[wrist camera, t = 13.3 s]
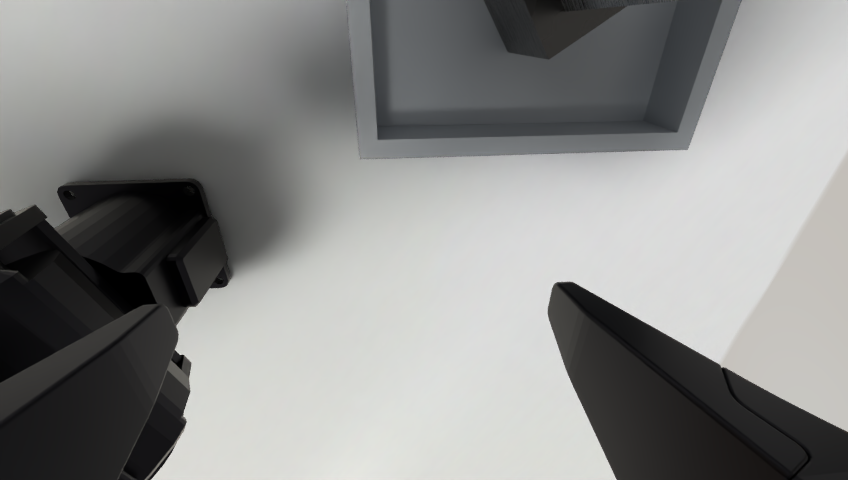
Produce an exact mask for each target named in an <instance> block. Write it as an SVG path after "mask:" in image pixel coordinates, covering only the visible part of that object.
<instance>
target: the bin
mask: <svg viewBox="0 0 848 480" xmlns="http://www.w3.org/2000/svg"><path fill="white" fill-rule="evenodd" d="M741 1H742V0H682V1H672V2H662V3H651V4H641V5H630V6H627V7H625V8H624V9H622V10H621V11H620V12H618V13H617V14H615V15H614V16H612V17H611V18H609V19H608V20H606V21H605V22H603V23H602V24H600V25H599V26H598V27H596V28H595V29H593V30H592V31H590V32H589V33H587V34H586V35H584V36H583V37H581V38H580V39H579V40H577V41H576V42H574V43H573V44H571V45H570V46H568V47H567V48H565V49H564V50H562V51H561V52H559V53H558V54H557V55H555V56H554V57H552V58H551V59H549V60H548V59H542V58H537V57H531V56H525V55H520V54H514V53H508V52H507V50H506V47H505V45H504V43H503V41H502V39H501V37H500V35H499V32H498V30H497V28H496V26H495V24H494V22H493V20H492V17H491V15H490V13H489V11H488V9H487V7H486V5H485V2H484V0H346V5H347V16H348V28H349V40H350V51H351V63H352V75H353V87H354V98H355V110H356V122H357V133H358V145H359V157H360V159H389V158H423V157H457V156H491V155H525V154H559V153H592V152H626V151H660V150H688V148H689V145H690V142H691V139H692V137H693V134H694V131H695V128H696V125H697V123H698V120H699V117H700V114H701V112H702V109H703V106H704V103H705V101H706V98H707V95H708V92H709V89H710V87H711V84H712V81H713V78H714V76H715V73H716V70H717V67H718V64H719V62H720V59H721V56H722V53H723V51H724V48H725V45H726V42H727V39H728V37H729V34H730V31H731V28H732V26H733V23H734V20H735V17H736V14H737V12H738V9H739V6H740V3H741Z"/></svg>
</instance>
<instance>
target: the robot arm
mask: <svg viewBox="0 0 848 480" xmlns="http://www.w3.org/2000/svg"><path fill="white" fill-rule="evenodd" d="M187 186H190V187H192V188H193V189H194V193H193V192H190V191H189V190H188V189H187ZM69 191H71V192H73V193H74V194H75V196H76V197H75V196H73V195H71V193H70V192H69ZM57 193H58V196H59V198H60V200H61V202H62V204H63V206H64V207H65V209H66V211H67V213H68V215H69V217H70V219H69V220H67V221H66V222H64V223H62V224H61V225H59V226H57V227H56V228H53V227H52V226H51V225H50V224H49V223H48V222H47V221H46V220H45V219H46V218H47V216H46V215H45V214H44V213H43V212H42V211H41V210H40V209H39V208H38V207H37V206H36V205H32V206H30V207H27V208H24V209H22V210H19V211H17V212H13V211H12V210H11V209H8V210H5V211H3V212H0V480H151V479H152V478H153V477H154V475H155V474H156V473H157V472H158V471H159V469H160V468H161V467H162V466H163V465H164V463H165V462H166V460H167V459H168V457H169V456H170V454H171V453H172V451H173V449H174V447H175V445H176V443H177V441H178V439H179V438H180V436H181V434H182V433H183V431H184V429H185V425H186V422H187V421H186V419H185V418H184V417H183V413H184V409H185V406H186V403H187V400H188V397H189V394H190V385H189V375H190V369H191V362H190V361H189V360H188V359H187V358H186V357H185V356H184V355H179V354H178V353H177V352H176V351H175V347H176V345H177V342H178V330H177V328H176V325H177V324H178V323H179V321H180V320H181V318H182V317H183V315H184V314H185V312H186V311H187V309H188V308H189V307H196V306H197V305H198V304H199V303H200V301H201V300H202V298H203V297H204V295H205V294H206V292H207V291H208V289H209V288H222V287H225V286H227V284H228V283H229V281H230V279H231V277H230V273H229V270H228V267H227V263H226V262H227V260H228V256H227V253H226V249H225V246H224V243H223V240H222V236H221V233H220V230H219V227H218V223H217V221H216V220H215V219H214V218H213V217H212V216H211V212H210V209H209V206H208V203H207V200H206V196H205V193H204V190H203V187H202V185H201V184H200V183H199V182H198V181H196V180H194V179H164V180H134V181H103V182H73V183H67V184H65V185H63V186H61V187H59V188H58V191H57ZM217 277H221V278H222V279H223V280H220V279H218V278H217ZM548 317H549V321H550V324H551V327H552V330H553V332H554V335H555V338H556V341H557V344H558V347H559V350H560V353H561V356H562V359H563V362H564V365H565V368H566V370H567V373H568V376H569V378H570V380H571V382H572V385H573V387H574V389H575V391H576V393H577V395H578V398H579V400H580V402H581V404H582V406H583V408H584V410H585V413H586V415H587V417H588V419H589V421H590V423H591V425H592V428H593V430H594V432H595V434H596V436H597V438H598V440H599V443H600V445H601V447H602V449H603V451H604V453H605V456H606V458H607V460H608V462H609V464H610V466H611V468H612V471H613V473H614V475H615V477H616V479H617V480H848V432H846V431H844V430H842V429H840V428H838V427H836V426H834V425H832V424H830V423H828V422H826V421H824V420H822V419H820V418H818V417H816V416H814V415H813V414H810V413H809V412H807V411H805V410H803V409H801V408H799V407H797V406H795V405H793V404H791V403H789V402H787V401H785V400H783V399H781V398H779V397H777V396H775V395H774V394H772V393H770V392H768V391H766V390H764V389H763V388H761V387H759V386H757V385H755V384H753V383H751V382H749V381H748V380H746V379H744V378H742V377H741V376H739V375H737V374H735V373H733V372H732V371H730V370H728V369H727V368H724V367H723V368H721V366H720V365H719V364H718V363H716V362H714V361H712V360H710V359H709V358H707V357H705V356H703V355H702V354H700V353H698V352H696V351H694V350H693V349H691V348H689V347H687V346H685V345H684V344H682V343H680V342H678V341H677V340H675V339H673V338H671V337H669V336H668V335H666V334H664V333H662V332H661V331H659V330H657V329H655V328H653V327H652V326H650V325H648V324H646V323H645V322H643V321H641V320H639V319H637V318H636V317H634V316H632V315H630V314H629V313H627V312H625V311H623V310H621V309H620V308H618V307H616V306H614V305H613V304H611V303H609V302H607V301H605V300H604V299H602V298H600V297H598V296H596V295H595V294H593V293H591V292H589V291H588V290H586V289H584V288H582V287H580V286H579V285H577V284H575V283H573V282H557V283H555V284H554V286H553V288H552V292H551V297H550V301H549V306H548Z"/></svg>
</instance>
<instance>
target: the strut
mask: <svg viewBox="0 0 848 480" xmlns="http://www.w3.org/2000/svg"><path fill="white" fill-rule="evenodd" d="M672 1H682V0H484V2H485V5H486V7H487V9H488V11H489V13H490V15H491V17H492V20H493V22H494V24H495V26H496V28H497V30H498V32H499V35H500V37H501V39H502V41H503V43H504V45H505V47H506V50H507V52H508V53H514V54H520V55H525V56H531V57H537V58H542V59H548V60H549V59H551V58H552V57H554V56H555V55H557V54H558V53H559V52H561V51H562V50H564V49H565V48H567V47H568V46H570V45H571V44H573V43H574V42H576V41H577V40H579V39H580V38H581V37H583V36H584V35H586V34H587V33H589V32H590V31H592V30H593V29H595V28H596V27H598V26H599V25H600V24H602V23H603V22H605V21H606V20H608V19H609V18H611V17H612V16H614V15H615V14H617V13H618V12H620V11H621V10H622V9H624V8H625V7H627V6H630V5H641V4H651V3H662V2H672Z"/></svg>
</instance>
